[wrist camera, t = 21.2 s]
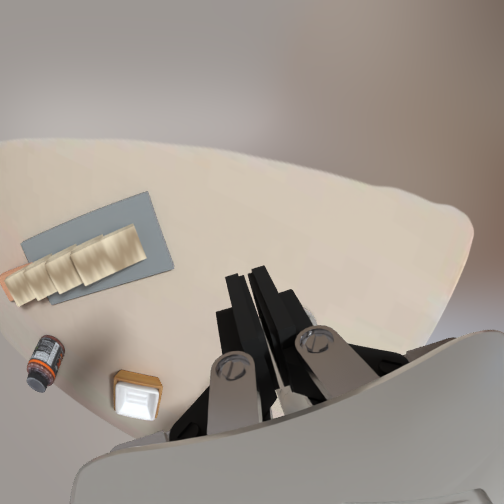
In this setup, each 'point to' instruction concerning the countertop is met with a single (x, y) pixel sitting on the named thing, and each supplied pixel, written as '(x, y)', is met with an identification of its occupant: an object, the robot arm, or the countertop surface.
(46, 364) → the supplement bottle
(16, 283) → the domino
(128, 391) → the soap dish
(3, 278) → the domino
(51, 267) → the domino
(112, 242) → the domino
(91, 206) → the countertop surface
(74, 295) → the runway mat
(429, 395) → the robot arm
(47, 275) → the domino
